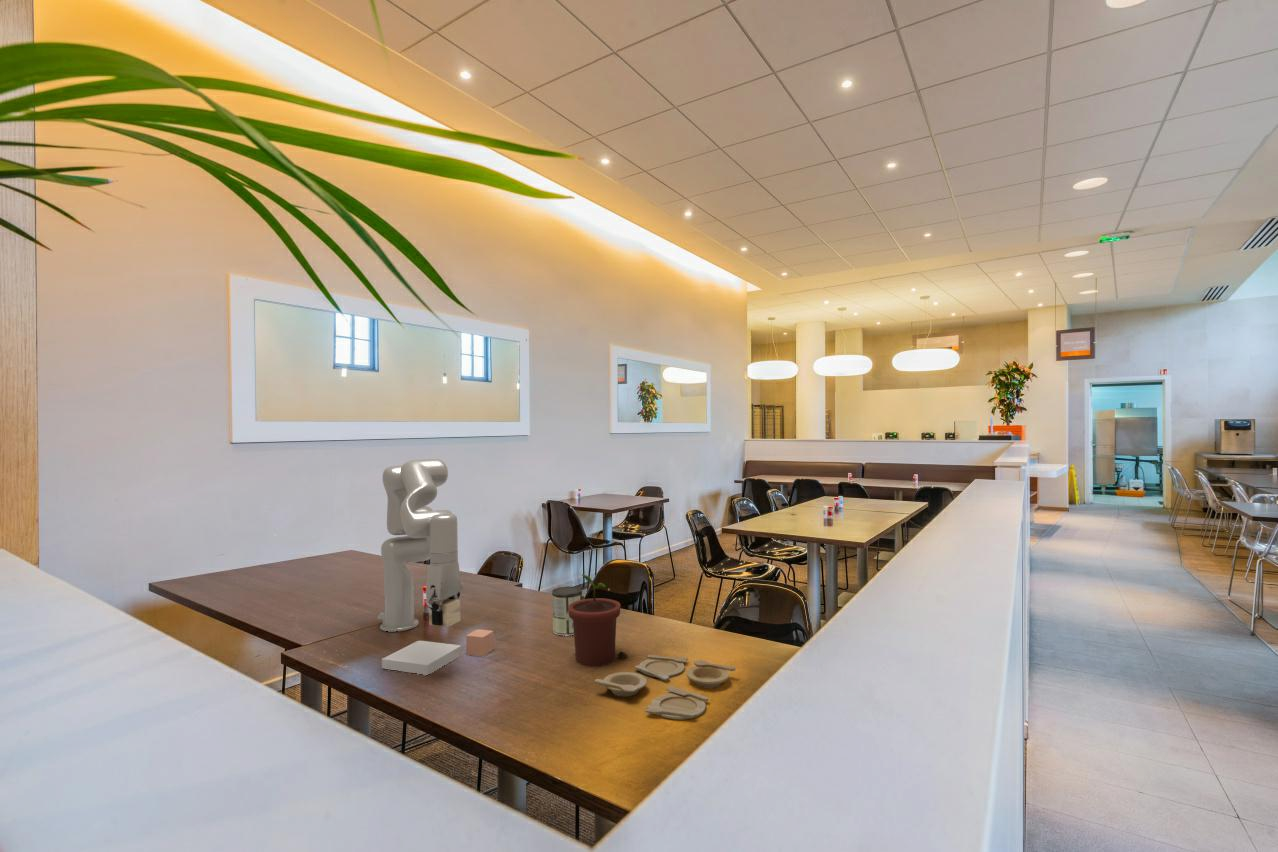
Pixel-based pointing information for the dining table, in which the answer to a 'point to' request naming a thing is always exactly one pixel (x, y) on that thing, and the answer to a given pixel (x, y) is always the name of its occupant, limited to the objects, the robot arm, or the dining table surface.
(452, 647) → the grey base board
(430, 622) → the brass cube
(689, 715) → the tableware set
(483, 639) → the terracotta cube
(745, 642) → the dining table surface
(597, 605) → the potted plant
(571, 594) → the coffee can
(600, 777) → the dining table surface
